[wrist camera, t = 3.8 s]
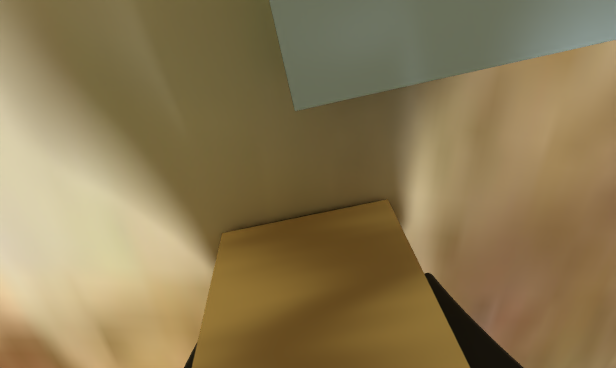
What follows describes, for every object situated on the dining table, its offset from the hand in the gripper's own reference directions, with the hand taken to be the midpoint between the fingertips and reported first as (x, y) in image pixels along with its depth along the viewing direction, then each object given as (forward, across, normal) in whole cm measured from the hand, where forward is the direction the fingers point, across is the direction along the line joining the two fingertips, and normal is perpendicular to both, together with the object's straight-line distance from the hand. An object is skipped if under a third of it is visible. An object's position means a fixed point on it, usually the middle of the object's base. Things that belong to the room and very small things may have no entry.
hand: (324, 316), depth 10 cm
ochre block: (+2, 0, 0) cm, 2 cm away
